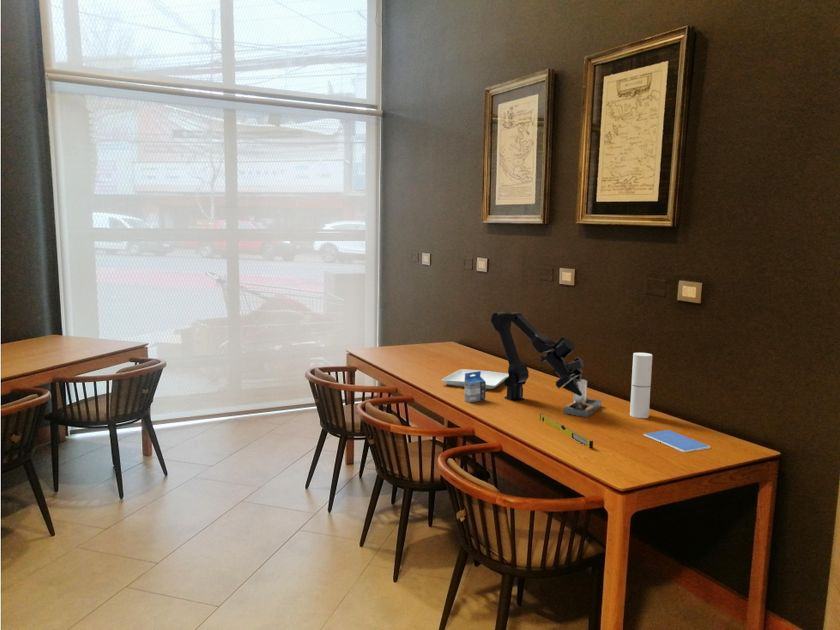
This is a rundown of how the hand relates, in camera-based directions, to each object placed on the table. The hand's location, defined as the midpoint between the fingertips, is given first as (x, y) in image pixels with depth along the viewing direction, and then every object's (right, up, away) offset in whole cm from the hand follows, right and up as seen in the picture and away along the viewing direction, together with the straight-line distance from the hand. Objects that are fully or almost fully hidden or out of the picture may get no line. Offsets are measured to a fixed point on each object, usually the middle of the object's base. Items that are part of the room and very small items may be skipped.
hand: (583, 394), depth 250 cm
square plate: (-38, -2, +50) cm, 63 cm away
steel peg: (-1, -6, +2) cm, 7 cm away
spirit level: (-13, -12, -25) cm, 31 cm away
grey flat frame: (+1, -7, +6) cm, 9 cm away
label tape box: (-42, -5, +18) cm, 46 cm away
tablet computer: (+24, -13, -33) cm, 43 cm away
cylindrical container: (+22, -9, -2) cm, 24 cm away
